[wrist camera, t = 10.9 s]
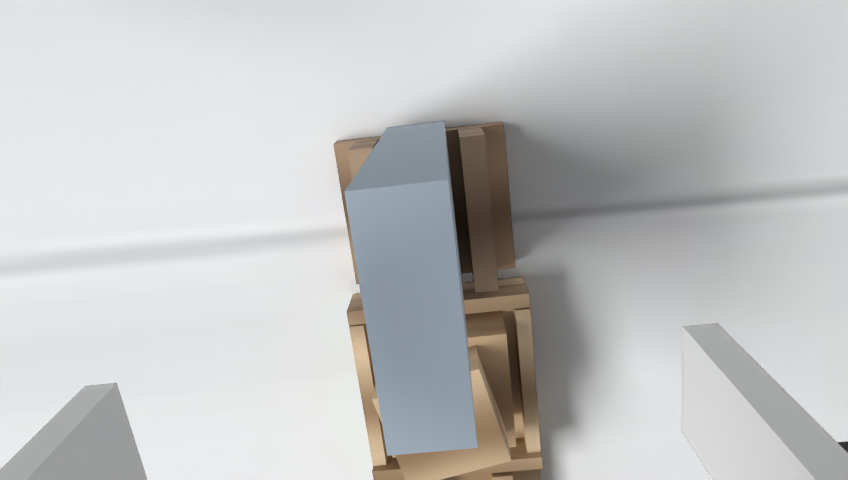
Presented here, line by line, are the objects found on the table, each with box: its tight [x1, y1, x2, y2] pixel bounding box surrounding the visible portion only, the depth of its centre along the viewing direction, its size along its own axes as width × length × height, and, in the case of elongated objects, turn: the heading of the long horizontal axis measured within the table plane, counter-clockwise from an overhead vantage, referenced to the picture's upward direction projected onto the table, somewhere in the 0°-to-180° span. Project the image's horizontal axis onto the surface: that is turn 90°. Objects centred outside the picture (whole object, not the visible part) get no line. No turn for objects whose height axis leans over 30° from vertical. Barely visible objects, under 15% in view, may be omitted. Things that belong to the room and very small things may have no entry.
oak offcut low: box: [392, 310, 516, 457], centre depth 34 cm, size 7×7×3 cm
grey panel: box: [344, 121, 478, 456], centre depth 26 cm, size 9×3×15 cm, turn 7°
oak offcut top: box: [372, 345, 511, 480], centre depth 32 cm, size 6×6×2 cm
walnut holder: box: [334, 122, 515, 293], centre depth 32 cm, size 8×9×4 cm
